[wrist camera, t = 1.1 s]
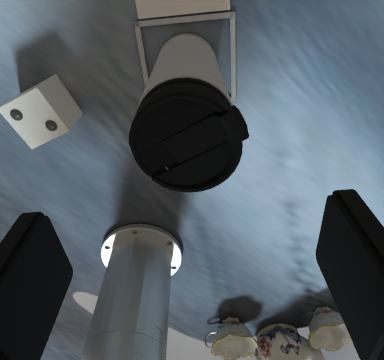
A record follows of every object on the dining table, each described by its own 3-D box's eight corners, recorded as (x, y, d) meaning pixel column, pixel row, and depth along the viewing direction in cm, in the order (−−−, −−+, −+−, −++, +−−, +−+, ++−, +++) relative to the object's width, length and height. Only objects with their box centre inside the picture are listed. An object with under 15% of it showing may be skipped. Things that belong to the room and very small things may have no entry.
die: (83, 113, 36) (69, 131, 31) (49, 130, 37) (31, 149, 33) (56, 73, 33) (36, 87, 29) (20, 93, 34) (-4, 109, 30)
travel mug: (228, 73, 33) (269, 169, 16) (177, 103, 35) (167, 216, 18) (201, 17, 30) (215, 65, 13) (146, 53, 32) (99, 134, 15)
